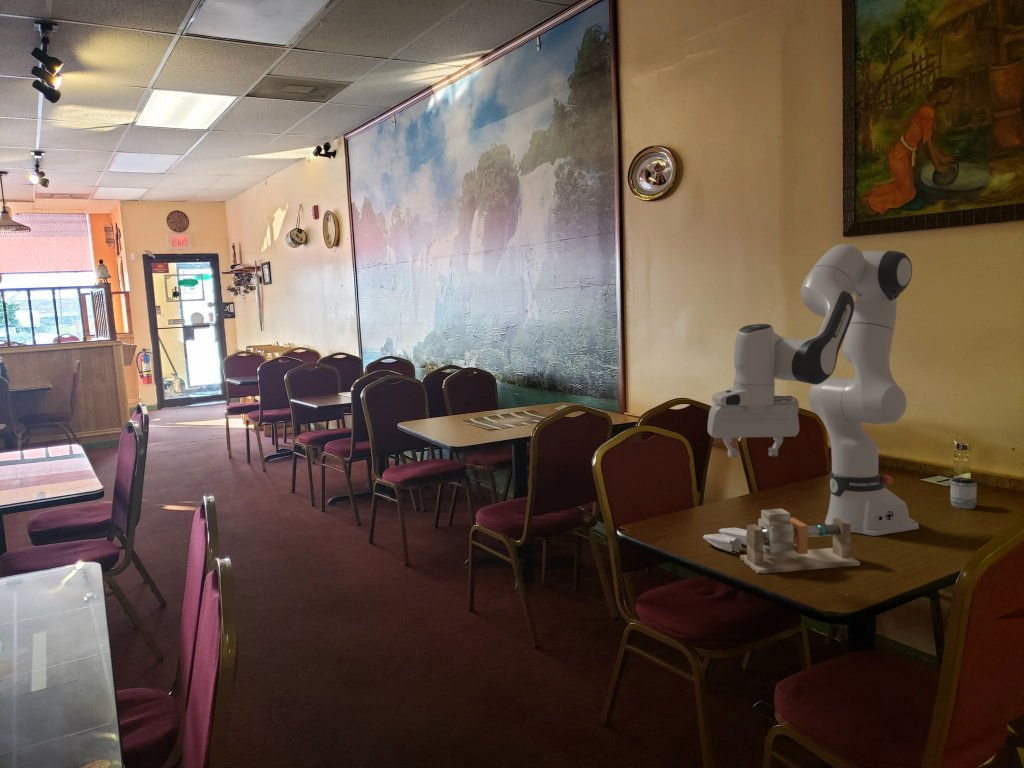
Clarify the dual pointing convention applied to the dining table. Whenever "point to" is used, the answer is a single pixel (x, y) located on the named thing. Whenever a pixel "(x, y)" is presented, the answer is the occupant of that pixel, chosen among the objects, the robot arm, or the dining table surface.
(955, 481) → the grey cylinder
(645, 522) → the dining table surface
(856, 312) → the robot arm
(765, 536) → the pipe
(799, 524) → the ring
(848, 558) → the stand
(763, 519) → the sleeve
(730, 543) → the pair of white wedges
